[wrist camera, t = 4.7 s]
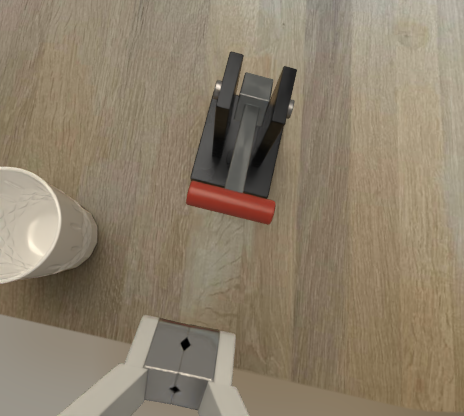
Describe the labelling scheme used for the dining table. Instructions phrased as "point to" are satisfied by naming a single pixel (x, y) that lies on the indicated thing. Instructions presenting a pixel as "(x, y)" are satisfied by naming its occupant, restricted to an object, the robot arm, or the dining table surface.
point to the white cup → (40, 228)
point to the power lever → (240, 160)
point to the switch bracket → (226, 130)
